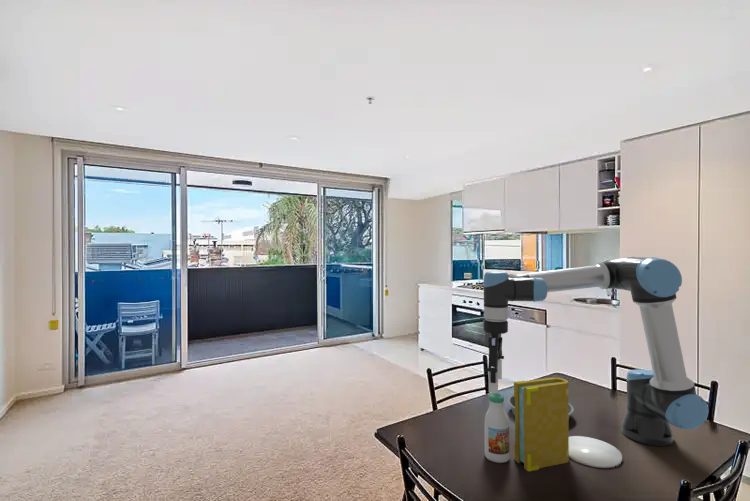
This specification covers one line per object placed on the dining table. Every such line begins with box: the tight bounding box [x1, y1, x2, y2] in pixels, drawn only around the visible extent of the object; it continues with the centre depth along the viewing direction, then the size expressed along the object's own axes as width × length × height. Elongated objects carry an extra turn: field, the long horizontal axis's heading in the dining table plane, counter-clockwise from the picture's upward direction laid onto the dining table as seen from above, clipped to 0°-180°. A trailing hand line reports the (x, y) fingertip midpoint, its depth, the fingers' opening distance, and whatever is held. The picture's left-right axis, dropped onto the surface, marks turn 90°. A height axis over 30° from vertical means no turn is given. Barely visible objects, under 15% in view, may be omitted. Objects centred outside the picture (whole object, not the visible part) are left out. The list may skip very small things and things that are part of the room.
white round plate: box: [569, 435, 623, 469], centre depth 128 cm, size 18×18×1 cm
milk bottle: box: [483, 393, 511, 464], centre depth 126 cm, size 8×8×20 cm
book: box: [513, 377, 570, 472], centre depth 124 cm, size 17×7×25 cm, turn 106°
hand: (495, 385), depth 126 cm, fingers open, 13 cm apart
